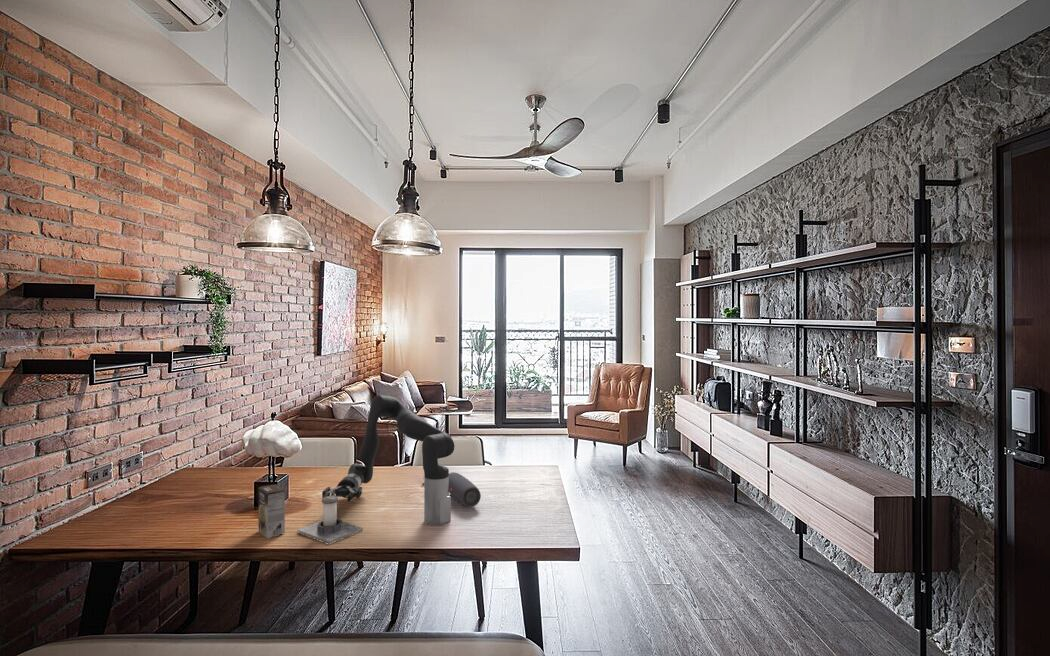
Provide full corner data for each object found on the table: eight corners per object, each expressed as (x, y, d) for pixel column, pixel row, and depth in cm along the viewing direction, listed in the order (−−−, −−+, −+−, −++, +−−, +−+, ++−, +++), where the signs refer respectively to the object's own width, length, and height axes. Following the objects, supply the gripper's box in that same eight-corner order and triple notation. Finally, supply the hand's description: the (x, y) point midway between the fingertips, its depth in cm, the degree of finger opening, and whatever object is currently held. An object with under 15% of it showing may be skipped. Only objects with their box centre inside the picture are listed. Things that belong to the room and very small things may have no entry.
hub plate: (362, 531, 190) (362, 522, 190) (329, 544, 178) (329, 535, 178) (330, 520, 200) (330, 512, 200) (297, 532, 188) (297, 524, 188)
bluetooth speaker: (442, 495, 230) (442, 472, 229) (462, 491, 234) (462, 469, 234) (460, 512, 209) (460, 487, 209) (481, 508, 214) (482, 484, 214)
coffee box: (257, 531, 189) (257, 487, 189) (276, 526, 194) (276, 483, 194) (266, 539, 183) (266, 493, 183) (285, 533, 187) (285, 489, 187)
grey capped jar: (341, 527, 190) (340, 496, 190) (328, 532, 186) (328, 501, 185) (331, 524, 193) (331, 494, 193) (318, 529, 188) (318, 498, 188)
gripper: (331, 476, 213) (317, 489, 197) (367, 476, 213) (356, 489, 197) (331, 494, 213) (317, 509, 197) (367, 494, 214) (355, 508, 197)
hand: (336, 499), depth 197 cm, fingers open, 8 cm apart
